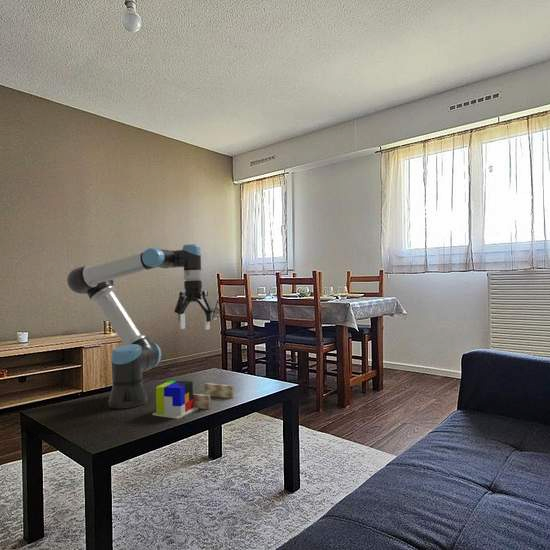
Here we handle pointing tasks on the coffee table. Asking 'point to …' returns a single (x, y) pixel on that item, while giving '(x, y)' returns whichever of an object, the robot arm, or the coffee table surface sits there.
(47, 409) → the coffee table surface
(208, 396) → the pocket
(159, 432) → the coffee table surface
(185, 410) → the puzzle toy
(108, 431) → the coffee table surface
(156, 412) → the pad
